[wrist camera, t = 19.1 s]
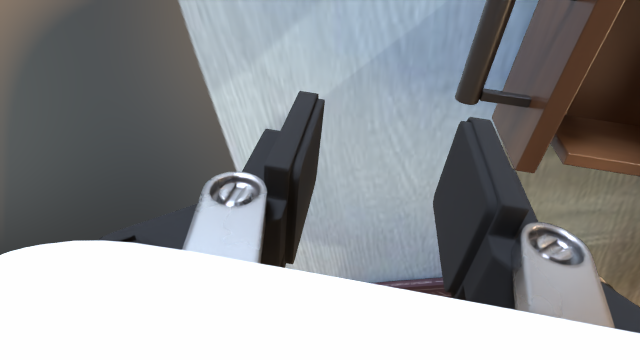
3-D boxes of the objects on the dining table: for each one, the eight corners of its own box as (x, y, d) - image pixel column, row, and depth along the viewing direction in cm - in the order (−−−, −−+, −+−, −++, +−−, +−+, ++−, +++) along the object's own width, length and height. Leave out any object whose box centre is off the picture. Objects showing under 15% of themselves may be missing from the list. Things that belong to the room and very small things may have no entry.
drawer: (434, 109, 30) (444, 159, 24) (497, -104, 22) (534, -103, 16) (678, 146, 29) (748, 208, 23) (837, -64, 21) (1004, -48, 15)
